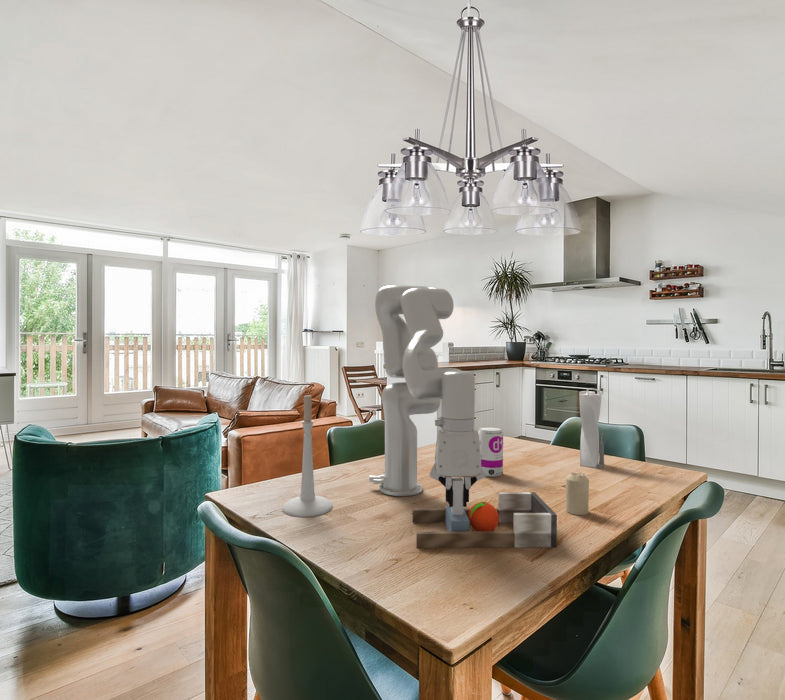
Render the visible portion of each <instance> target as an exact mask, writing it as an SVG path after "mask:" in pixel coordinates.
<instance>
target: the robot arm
mask: <svg viewBox="0 0 785 700" xmlns="http://www.w3.org/2000/svg"><path fill="white" fill-rule="evenodd" d="M374 305H375V313H376V318H377V321H378V323H379V327H380V330H381V335H382V349H383V360H384V362H383V363H384V369H385V372H386V374H387V375H388V377H390V378H393V379H394V378H395V379H404V380H405V381H403V382H401V381H398V382H393V383H390V384H387V385H386V386H384V388H383V390H382V392H381V404H382V409H383V410H382V411H383V417H384V472H383V474H380V475H369V483H372V484H374V485H377V484H378V485H379V486H378V487H379V488H378V489H379V491H380V492H381V493H382V494H385V495H388V496H394V497H408V496H409V497H410V496H411V497H412V496H414V495H418V494H420V493H421V492H422V491H423V485H422V484H421V483H420V482H418V429H417V426H416V425H415V422H413V421H412V419H411V418H410V416H413V415H427V414H428V415H429V414H433V413H436V412H438V410H439V409H440V408H441V415H440V418H438V419H434V425H435V426H438V427H440V428H441V429H439V430H438V431H437V436H436V442H435V443H436V444H435V453H434V456H435V457H434V464H433V466H432V467H431V468H432V469H431V470H430V472H429V477H430V478H432V479H433V480H436V481H438V482H439V483H440V484H441V486H443V487H444V488H445V503H448V505H449V506H450V507H452V506H453V489H452V486H451V478H462V479H463V508H467V505H468V504H467V503H469V501H470V490H471V489H472V487H473V486H474V484H475V483H477V482H478V481H480V480H482V479H485V478H486V476H485V473H484V471H483V469H482V467H481V451H480V440H479V434H478V431H477V430H475V421H476V419H475V416H476V415H475V409H476V407H475V406H476V405H475V403H476V401H475V400H476V399H475V397H476V393H475V392H476V378H475V375H474V373H473V372H471V371H468V370H461V369H459V368H454V367H439V362H438V358H437V354H436V353H435V350H434V349H432V348H433V347H434V346H436V345H437V344H439V343H440V342H441V340H442V339H443V338H444V330H443V327H442V324H441V321H440V320H447V319H449V318H450V317H451V316H452V315H453V312H454V299H453V296H452V295H451V294H450V292H449V291H448V290H446V289H444V288H438V287H433V286H426V285H425V286H424V285H422V286H421V285H420V286H419V285H405V284H391V285H384V286H382V287H380V288H379V289H378V290H377V292H376V295H375V304H374ZM400 315H403V317H404V319H403V318H402V317H401V316H400ZM440 406H441V407H440Z"/></svg>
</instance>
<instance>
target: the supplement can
mask: <svg viewBox="0 0 785 700" xmlns="http://www.w3.org/2000/svg"><path fill="white" fill-rule="evenodd" d="M477 432H478V434H479V440H480V451H481V467H482V469H483V471H484V473H485V478H486V477H487V478H496V477H497V476H498V477H500V476H502V474H504V466H503V465H504V433H503V431H502V428H500V427H496V426H495V427H494V426H482V427H479V429H478V431H477Z"/></svg>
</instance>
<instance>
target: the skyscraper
mask: <svg viewBox="0 0 785 700" xmlns="http://www.w3.org/2000/svg"><path fill="white" fill-rule="evenodd" d="M590 390H593V391H590ZM596 391H597V392H598V393H596ZM578 394H579V397H578V398H579V401H578V402H579V414H580V415H579V416H580V422H581V423H580V424H581V429H580V443H579V444H580V445H579V466H580V467H584V468H592V469H600V470H602V469H603V468H604V466H605V442H604V432H603V429H601V434H600V433H599V425H598V424H599V419H600V416H601V415H600V414H601V407H602V405H601V404H602V393H601V391H600V390H599V389H597V388H594V387H589V388H587V389H586V390H583V391H579V393H578Z"/></svg>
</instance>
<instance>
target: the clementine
mask: <svg viewBox="0 0 785 700" xmlns="http://www.w3.org/2000/svg"><path fill="white" fill-rule="evenodd" d="M469 509H470V511H469V516H468V519H469V521H470V526H471V528H472V529H473V531H496V529H497V527H498V525H499V523H500V522H499V516H498V512H497V510H496V509H497V508H495V506H494V505H492V504H491V503H489V502H487V501H486V502H485V501H479V502H477V503H475V504H473V505H472V507H471V508H469Z"/></svg>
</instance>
